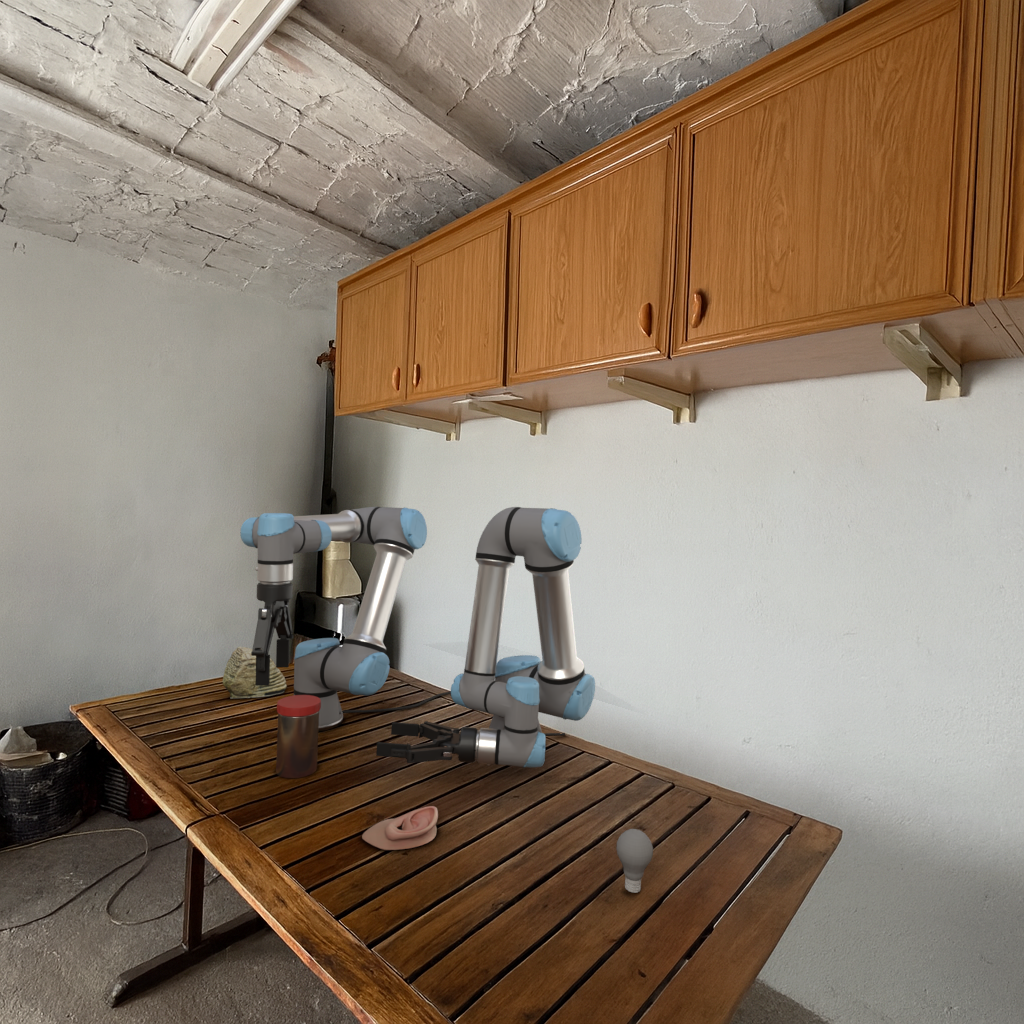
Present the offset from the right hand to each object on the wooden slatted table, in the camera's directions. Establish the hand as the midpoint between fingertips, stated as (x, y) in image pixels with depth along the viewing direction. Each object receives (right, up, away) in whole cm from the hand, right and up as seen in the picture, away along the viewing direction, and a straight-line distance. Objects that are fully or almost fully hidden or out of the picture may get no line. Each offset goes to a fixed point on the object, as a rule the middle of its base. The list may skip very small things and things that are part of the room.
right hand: (384, 738), depth 144 cm
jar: (-21, -8, +2) cm, 22 cm away
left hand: (-25, +15, -2) cm, 29 cm away
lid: (-20, +8, +1) cm, 21 cm away
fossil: (-52, -6, +54) cm, 75 cm away
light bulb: (+49, -12, -39) cm, 64 cm away
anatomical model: (+8, -10, -25) cm, 28 cm away
